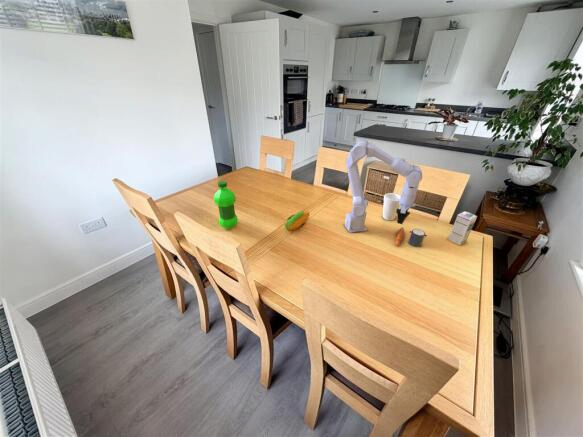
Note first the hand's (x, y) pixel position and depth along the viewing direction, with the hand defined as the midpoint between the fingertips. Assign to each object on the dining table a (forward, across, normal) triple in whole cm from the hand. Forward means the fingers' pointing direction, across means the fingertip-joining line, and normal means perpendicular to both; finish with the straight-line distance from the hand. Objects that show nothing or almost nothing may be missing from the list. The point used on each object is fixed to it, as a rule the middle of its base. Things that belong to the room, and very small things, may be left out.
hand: (400, 219), depth 112 cm
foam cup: (+10, +17, +7) cm, 21 cm away
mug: (+10, -2, -9) cm, 13 cm away
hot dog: (+10, -16, +47) cm, 51 cm away
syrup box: (+10, +11, -26) cm, 30 cm away
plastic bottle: (+11, -35, +78) cm, 86 cm away
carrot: (+10, -2, -2) cm, 10 cm away
